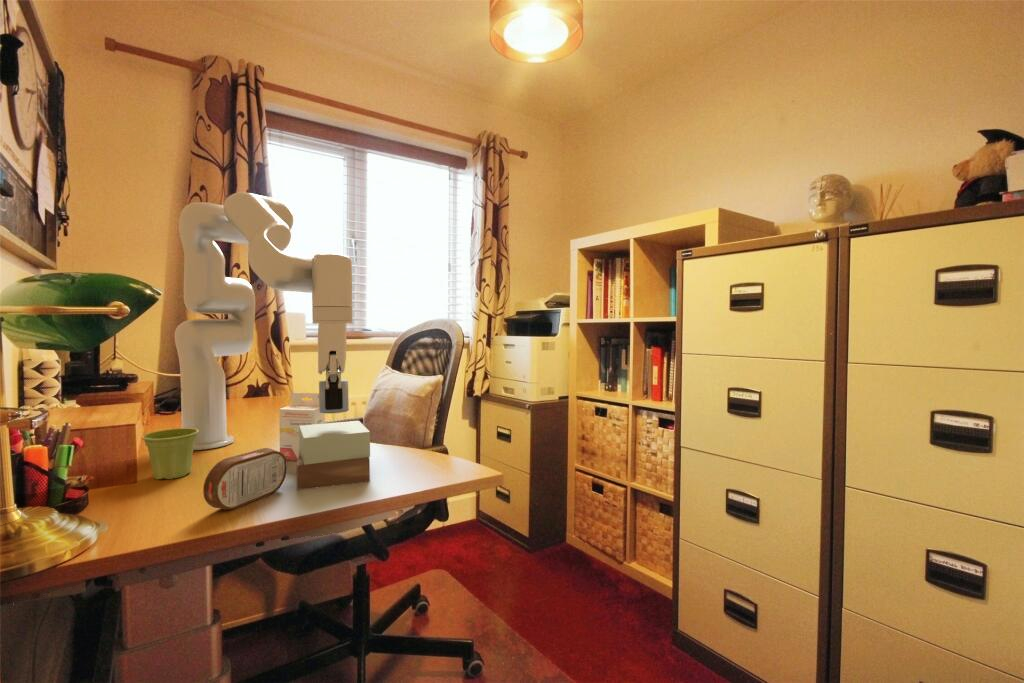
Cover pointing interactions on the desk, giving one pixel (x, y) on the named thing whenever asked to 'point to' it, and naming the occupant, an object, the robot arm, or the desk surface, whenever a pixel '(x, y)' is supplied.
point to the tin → (244, 478)
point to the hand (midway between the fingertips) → (334, 405)
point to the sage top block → (333, 442)
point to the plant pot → (171, 451)
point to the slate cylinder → (322, 397)
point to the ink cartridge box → (297, 421)
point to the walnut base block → (332, 473)
